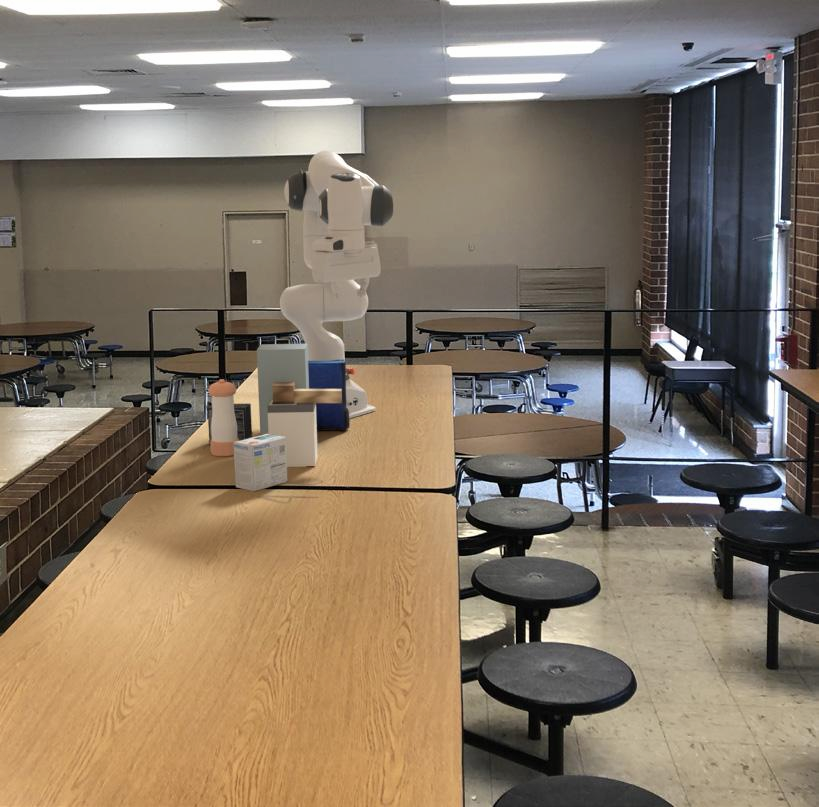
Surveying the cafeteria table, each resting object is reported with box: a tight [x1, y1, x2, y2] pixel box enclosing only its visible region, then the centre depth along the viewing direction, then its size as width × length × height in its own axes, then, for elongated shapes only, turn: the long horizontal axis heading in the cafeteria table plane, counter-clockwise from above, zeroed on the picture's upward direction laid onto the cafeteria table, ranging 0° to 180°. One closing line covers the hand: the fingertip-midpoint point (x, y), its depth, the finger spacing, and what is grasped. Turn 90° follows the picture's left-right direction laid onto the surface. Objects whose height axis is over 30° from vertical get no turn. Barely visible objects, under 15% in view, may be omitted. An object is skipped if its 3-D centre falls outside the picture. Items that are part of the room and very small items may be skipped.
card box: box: [267, 399, 319, 468], centre depth 274 cm, size 11×10×15 cm
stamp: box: [273, 382, 342, 404], centre depth 272 cm, size 16×5×4 cm, turn 91°
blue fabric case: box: [308, 359, 351, 431], centre depth 310 cm, size 14×5×20 cm, turn 84°
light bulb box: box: [233, 434, 288, 492], centre depth 254 cm, size 11×7×11 cm, turn 141°
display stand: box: [256, 343, 309, 436], centre depth 286 cm, size 13×11×27 cm
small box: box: [207, 403, 253, 447], centre depth 297 cm, size 11×6×10 cm, turn 84°
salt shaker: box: [207, 378, 239, 457], centre depth 285 cm, size 7×7×19 cm
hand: (348, 298), depth 273 cm, fingers open, 8 cm apart
